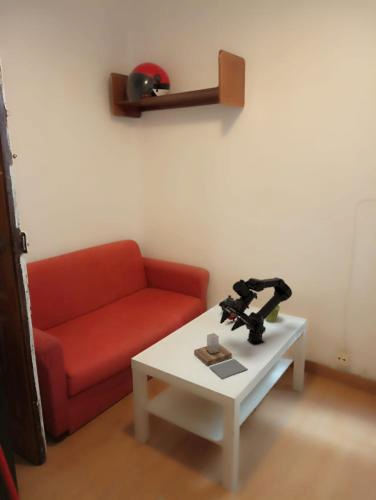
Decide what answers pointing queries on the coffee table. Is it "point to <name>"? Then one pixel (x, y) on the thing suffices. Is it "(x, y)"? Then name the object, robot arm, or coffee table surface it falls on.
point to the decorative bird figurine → (232, 317)
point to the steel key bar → (212, 344)
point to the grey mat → (228, 368)
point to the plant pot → (273, 315)
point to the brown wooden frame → (212, 359)
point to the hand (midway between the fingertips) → (225, 326)
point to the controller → (225, 301)
